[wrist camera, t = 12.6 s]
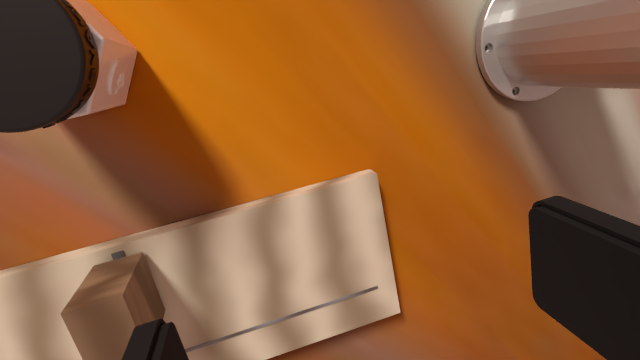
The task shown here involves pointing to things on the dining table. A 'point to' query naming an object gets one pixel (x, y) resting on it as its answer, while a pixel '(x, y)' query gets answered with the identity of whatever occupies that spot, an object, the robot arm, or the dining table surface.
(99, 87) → the jar
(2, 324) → the board
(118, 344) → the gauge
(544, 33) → the robot arm
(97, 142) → the dining table surface
